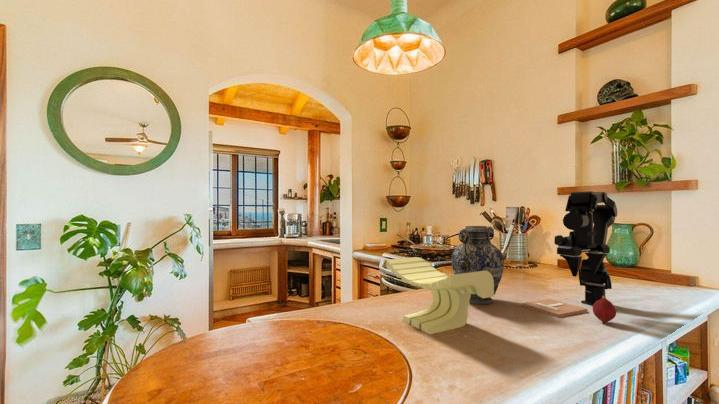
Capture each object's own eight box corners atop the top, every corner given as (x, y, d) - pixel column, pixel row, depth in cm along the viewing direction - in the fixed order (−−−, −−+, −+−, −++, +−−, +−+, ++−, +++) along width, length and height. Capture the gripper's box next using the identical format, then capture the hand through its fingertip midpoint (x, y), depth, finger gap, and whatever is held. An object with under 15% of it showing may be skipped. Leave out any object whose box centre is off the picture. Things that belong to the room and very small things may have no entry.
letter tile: (549, 301, 126) (549, 297, 126) (587, 311, 113) (587, 308, 113) (521, 305, 121) (521, 302, 121) (558, 317, 108) (558, 313, 108)
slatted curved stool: (494, 333, 95) (493, 269, 95) (451, 345, 87) (450, 275, 87) (424, 306, 121) (424, 256, 121) (386, 313, 113) (386, 259, 114)
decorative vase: (485, 311, 114) (483, 227, 115) (440, 300, 129) (438, 226, 129) (516, 300, 127) (514, 225, 128) (472, 292, 142) (470, 224, 143)
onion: (620, 326, 99) (620, 299, 99) (598, 325, 100) (598, 298, 101) (610, 320, 105) (609, 294, 105) (589, 319, 106) (588, 293, 106)
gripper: (578, 226, 126) (578, 269, 126) (542, 228, 118) (542, 273, 118) (610, 228, 116) (611, 274, 115) (573, 230, 108) (574, 279, 108)
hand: (583, 275), depth 114 cm, fingers open, 9 cm apart
